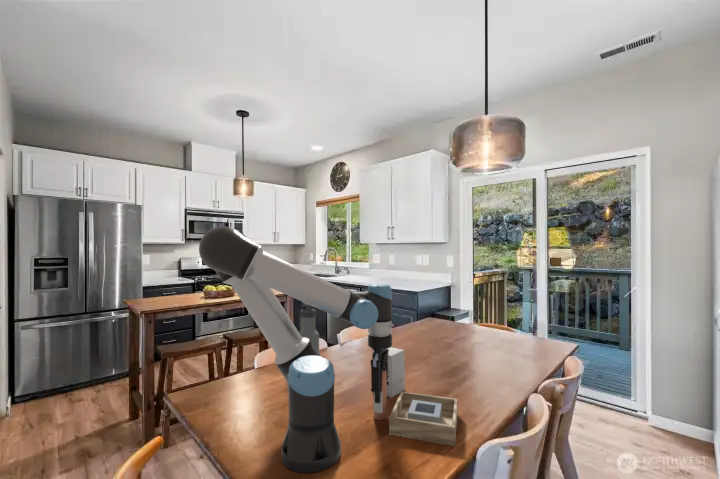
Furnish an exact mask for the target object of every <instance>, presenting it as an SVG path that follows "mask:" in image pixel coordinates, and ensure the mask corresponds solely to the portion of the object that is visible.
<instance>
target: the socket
mask: <svg viewBox="0 0 720 479" xmlns="http://www.w3.org/2000/svg"><path fill="white" fill-rule="evenodd" d="M408 419H414V420H421V421H427V422H434V423H440V424H441V419H442V404H441V403H433V402H426V401H419V400H412V403H411V406H410V408H409V411H408Z"/></svg>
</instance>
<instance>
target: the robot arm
mask: <svg viewBox="0 0 720 479" xmlns="http://www.w3.org/2000/svg"><path fill="white" fill-rule="evenodd" d="M198 247H199V248H198V251H199V252H198V253H199V256H200V259H201V261H202V262H203V263H204V265H205V266H207V267H208V268H210V269H211V270H212V271H213V270H214V271H215V273H216V274H217V277H218V278H219V279H220V280H221V282H222V284H226V285H230V286H231V287H232V288H233V290H234V292H235V293H236V294H237V296H238V297H239V299H240V301H241V302H242V304H243V305H244V306H245V308H246V310H247V311H248V313H249V314H250V316H251V318H252V320H253V321H254V322H255V324H256V326H257V327H258V329H259V330H260V331H261V333H262V335H263V336H264V338H265V339H266V341H267V342H268V345H269V346H270V347H271V349H272V350H273V352H274V353H275V358H274V363H275V365H276V367H277V369H279V370H278V371H279V372H280V374H282V376H283V378H284V379H285V381H286V386H287V393H288V425H287V426H288V427H287V429H286V433H285V435H284V439H283V442H282V445H281V458H280V459H281V462H282V464H283V465H284V466H285V467H286V468H288V469H289V470H291V471H293V472H297V473H302V474H303V473H305V474H307V473H308V474H310V472H312V473H317V472H316V471H318V472H320V471H319V470H322V471H324V470H323V469H325V470H327V469H328V467H329V468H331V467H332V466H333V464H334V465H336V463H337V462H338V461H339V459H340V458H341V454H342V444H341V440H340V436H339V433H338V430H337V427H336V424H335V381H336V374H335V368H334V364H333V363H332V361H331V360H329V359H328V358H326V357H323V356H321V353H320V351H319V352H317V351H316V349H315V348H314V346H313V344H312V343H311V341H310V340H309V338H306V337H301V335H300V334H299V331H298V329H297V327H296V326H295V324H294V323H293V321H292V320H291V318H290V316H289V314H288V313H287V311H286V310H285V308H284V307H283V305H282V304H281V302H280V300H279V299H278V297H277V296H276V294H275V293H274V291H277V292H280V293H281V294H284V295H287V296H289V297H291V298H293V299H296V300H298V301H300V302H302V303H307V304H309V305H311V306H313V307H314V308H316V309H318V310H320V311H323V312H325V313H328V314H330V315H331V317H333V318H339V319H341V320H343V321H345V322H348V323H350V324H352V326H353V327H355V328H358V329H360V330H367V333H368V335H367V345H368V348H369V347H370V348H371V349H373V351H374V353H373V355H372V354H371V356H372V358H373V360H372V359H371V360H370V370H371V371H370V373H371V374H370V375H371V376H370V377H371V384H370V385H371V388H370V391H371V392H372V393H373V413H374V412H377V413H383V391H382V373H383V370H384V371H386V372H387V380H388V352H389V350H388V348H390V347H392V346H393V335H392V332H393V331H392V330H393V327H394V326H395V325H394V323H392V322H393V317H392V316H393V313H392V312H393V311H392V310H393V292H392V287H391V285H389V284H387V283H373V284H372V283H371V284H369V285H368V287H367V290H365V291H350V290H347V289H345V288H343V287H342V286H338V285H336V284H335V283H332V282H330V281H328V280H327V279H324V278H322V277H320V276H317V275H315V274H313V273H311V272H308V271H307V270H304V269H302V268H300V267H298V266H296V265H294V264H291V263H289V262H287V261H285V260H284V259H281V258H279V257H276V256H275V255H272V254H271V253H268V252H266V251H264V249H263V247H262V245H260V244H258V243H256V242H254V241H252V240H250V239H249V238H248V237H247V236H246V235H245V234H244V233H243V232H242V231H240V230H238V229H236V228H234V227H231V226H224V225H223V226H217V227H213V228H211V229H210V230H207V232H205V234H204V235H203V236H202V237H201V239H200V242H199V246H198ZM273 290H274V291H273ZM313 307H312V308H313ZM390 333H391V334H390ZM387 384H389V381H387ZM330 466H331V467H330ZM326 468H327V469H326Z"/></svg>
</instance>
